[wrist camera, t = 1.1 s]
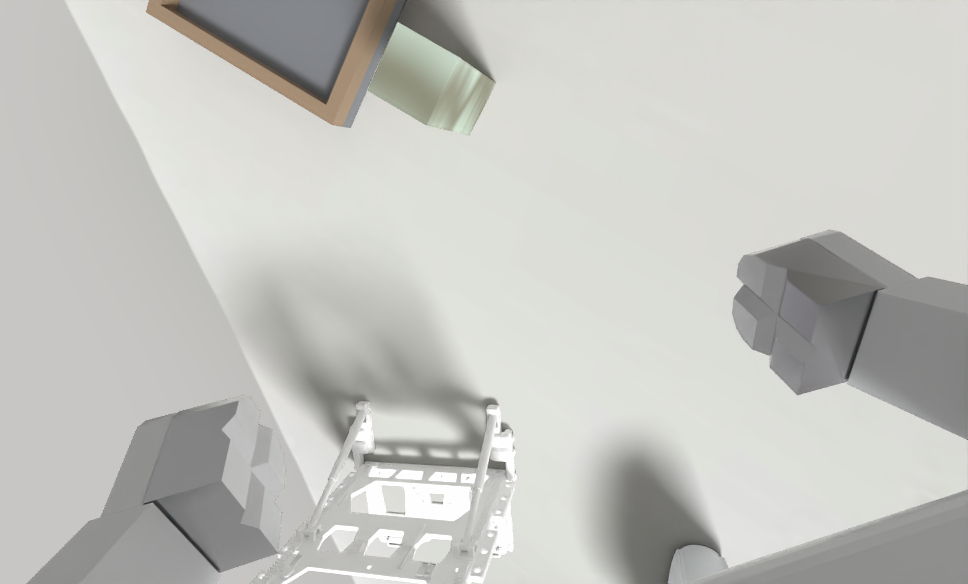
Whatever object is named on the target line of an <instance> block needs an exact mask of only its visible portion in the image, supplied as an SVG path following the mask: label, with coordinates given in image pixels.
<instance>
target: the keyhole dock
mask: <svg viewBox="0 0 968 584" xmlns="http://www.w3.org/2000/svg"><path fill="white" fill-rule="evenodd" d="M405 2H406V0H149V3H148V6H147V10H146V12H147V13H148V14H150V15H152V16H153V17H155V18H157V19H158V20H160V21H161V22H163V23H165V24H166V25H168V26H170V27H171V28H173V29H175V30H176V31H178V32H180V33H181V34H183V35H185V36H186V37H188V38H190V39H191V40H193V41H194V42H196V43H198V44H199V45H201V46H203V47H204V48H206V49H208V50H209V51H211V52H213V53H214V54H216V55H218V56H219V57H221V58H223V59H224V60H226V61H227V62H229V63H231V64H232V65H234V66H236V67H237V68H239V69H241V70H242V71H244V72H246V73H247V74H249V75H251V76H252V77H254V78H256V79H257V80H259V81H260V82H262V83H264V84H265V85H267V86H269V87H270V88H272V89H274V90H275V91H277V92H279V93H280V94H282V95H284V96H285V97H287V98H289V99H290V100H292V101H294V102H295V103H297V104H298V105H300V106H302V107H303V108H305V109H307V110H308V111H310V112H312V113H313V114H315V115H317V116H318V117H320V118H322V119H323V120H325V121H327V122H328V123H330V124H331V125H336V126H342V127H348V128H351V125H352V123H353V121H354V119H355V116H356V114H357V112H358V109H359V107H360V105H361V103H362V100H363V98H364V96H365V93H366V91H367V89H368V86H369V84H370V82H371V80H372V77H373V75H374V73H375V70H376V68H377V66H378V63H379V61H380V59H381V57H382V54H383V52H384V50H385V47H386V45H387V43H388V41H389V38H390V36H391V34H392V31H393V29H394V27H395V24H396V22H397V20H398V18H399V15H400V13H401V11H402V8H403V6H404V4H405Z"/></svg>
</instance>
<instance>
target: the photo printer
mask: <svg viewBox="0 0 968 584" xmlns="http://www.w3.org/2000/svg"><path fill="white" fill-rule="evenodd" d="M725 569H728V565H727V563H726V561H725V559H724V558H723V557H719V555H718V554H717V553H716V552H715V551H714V550H712V549H710V548H708V547H705V546H701V545H688V546H684V547H682V549H677V550H676V552H675V554H674V557H673V560H672V564H671V568H670V574H669V579H668V584H682V583H685V582H688V581H691V580H694V579H697V578H700V577H703V576H706V575H710V574H713V573H716V572H719V571H722V570H725Z"/></svg>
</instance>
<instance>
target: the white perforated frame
mask: <svg viewBox="0 0 968 584" xmlns="http://www.w3.org/2000/svg"><path fill="white" fill-rule="evenodd" d="M355 407H356V414H357V417H356V419H355V421H354V423H353V425H352V426H351V427H350V429H349V434H348V436H347V438H346V441H345V443H344V445H343V447H342V449H341V451H340V454H339V456H338V458H337V460H336V462H335V464H334V467H333V469H332V471H331V473H330V475H329V478H328V483H327V485H326V487H325V489H324V492H323V494H322V496H321V498H320V500H319V502H318V505H317V507H316V509H315V511H314V513H313V515H312V516H311V517H310V518H309V519H308V520H307V521H306V522H305V523H303V524H302V525H301V526H300V527H299V528H298V529H297V530H296V533H295V535H293V537H292V538H291V539H290V540H289V541H288V542H287V543H286V544H285V545H284V547H283V548H282V549H281V550H280V551H279V552H278V553H277V554H278V561H276V562H275V564H273V567H270V570H268V571H263V570H262V571H261V572H260V573H259V574H258V575H257V576H256V578H255V579H254V580H253V581H252V582H251V583H250V584H287V583H289V582H291V581H292V580H293V579H295V578H297V577H299V576H300V575H301V574H303V573H305V572H307V571H308V570H312V571H320V572H329V573H337V574H345V575H353V576H362V577H370V578H379V579H387V580H395V581H404V582H412V583H420V584H470V582H478V583H482V582H483V581H484V578H485V575H486V572H487V569H488V566H489V563H490V560H491V558H492V557H497V558H499V557H500V554H506V551H507V550H509V551H513V548H514V543H513V530H512V518H511V507H510V506H511V505H510V502H511V499H512V496H513V493H514V490H515V483H514V482H509V481H513V480H517V474H515V465H514V455H515V453H516V451H515V449H513V441H514V439H515V437H514V435H512V430H511V429H506V430H505V431H504V432H502V429H501V416H500V406H499V405H488V407H487V409H486V414H487V428H486V432H485V436H484V441H483V445H482V450H481V454H480V459H479V463H478V468H470V467H453V466H436V465H419V464H402V463H385V462H368V461H366V462H365V463H364V457H363V454H371V453H372V452H373V451H374V450H375V443H374V435H373V427H372V420H371V412H370V404H369V402H368V401H360V402H358V403H357V404H356V405H355ZM368 409H369V410H368ZM365 417H366V418H365ZM351 448H352V452H353V457H354V464H355V467H354V469H355V470H356V471H357V472H351V473H350V474H349V475H348V476H347V477H346V478H345V479H344V480H343V481H342V483H341V484H340V485H339V486H338V487H337V488H336V489H335V490H334V491H333V492H332V494H331V495H330V493H331V490H332V488H333V486H334V484H335V483H336V482H337V480H338V478H339V475H340V473H341V471H342V469H343V466H344V464H345V462H346V460H347V457H348V455H349V453H350V451H351ZM489 457H490V459H491V460H494V461H502V462H506V470H504V469H487V466H488V462H489ZM379 471H381V473H379ZM402 473H403V474H402ZM442 475H443V476H442ZM467 477H470V478H467ZM381 485H392V486H403V487H404V490H405V511H406V514H396V513H387V511H386V507H385V503H384V499H383V495H382V490H381ZM365 490H366V494H367V501H368V509H369V514H367V513H355V512H351V498H353V497H355V496H356V495H358V494H360V493H362V492H364V491H365ZM469 491H471V493H472V495H473V497H472V501H471V506H470V501H469V496H468V494H469ZM429 493H438V494H444V500H443V504H442V503H432V502H431V498H430V494H429ZM329 495H330V496H329ZM423 499H424V501H423ZM450 501H451V502H452V503H450ZM324 506H325V508H324ZM493 521H494V522H493ZM495 524H497V525H498V527H495ZM336 529H339V530H350V531H357V534H356V536H355V538H354V541H353V542H352V543H351V544H350V545H349V546H348V547H347V548H346V549H345V550H344V551H343V552H342V553H338V552H329V551H319V548H320V546H321V544H322V542H323V540H324V539H326V538H327V537H328V536H329V535H330V534H331V533H332V532H334V531H335V530H336ZM388 535H389V538H388ZM376 537H379V538H380V541H381V542H387V545H388V546H389V547H399V548H398V549H397V550H396V551H395V553H394V554H393V555H392V556H391V557H390V558H384V557H375V556H366V555H365V553H366V551H367V548H368V545H369V544H370V543H371V542H372V541H373V540H374V539H375V538H376ZM431 538H433V539H444V540H452V541H451V547H450V551H449V553H448V554H447V555H446V557H445V558H444V559H443V560H442V562H441V563H431V562H421V561H413V560H414V556H415V552H416V550H417V548H418V547H419V546H420V545H421V544H422V543H424V542H426V541H428V542H429V541H430V540H431ZM389 543H398V544H401V546H400V545H390V544H389ZM497 546H499V548H497ZM493 553H498V555H493ZM369 568H370V570H369ZM456 571H458V572H456Z"/></svg>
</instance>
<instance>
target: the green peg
mask: <svg viewBox="0 0 968 584" xmlns="http://www.w3.org/2000/svg"><path fill="white" fill-rule="evenodd" d="M495 84H496V83H495V82H494V81H492V80H491V79H489V78H488V77H487V76H485V75H484V74H482V73H481V72H479V71H478V70H477V69H475V68H474V67H472V66H471V65H469V64H468V63H467V62H465V61H464V60H462V59H461V58H459V57H458V56H456V55H454V54H453V53H451V52H449V51H447V50H446V49H444V48H442V47H440V46H439V45H437V44H435V43H433V42H432V41H430V40H428V39H426V38H425V37H423V36H421V35H420V34H418V33H416V32H414V31H413V30H411V29H409V28H407V27H406V26H404V25H402V24H400V23H399V22H397V24H396V27H395V29H394V31H393V33H392V36H391V38H390V40H389V43H388V45H387V47H386V49H385V52H384V54H383V56H382V59H381V61H380V63H379V66H378V68H377V70H376V72H375V75H374V77H373V79H372V82H371V84H370V86H369V89H368V91H369V92H371V93H373V94H374V95H376V96H378V97H379V98H381V99H383V100H385V101H386V102H388V103H390V104H391V105H393V106H395V107H396V108H398V109H400V110H401V111H403V112H405V113H406V114H408V115H410V116H411V117H413V118H415V119H417V120H418V121H420V122H422V123H423V124H425V125H428V126H432V127H436V128H440V129H444V130H449V131H453V132H457V133H461V134H466V135H470V133H471V131H472V129H473V127H474V125H475V123H476V121H477V119H478V117H479V116H480V114H481V112H482V110H483V108H484V106H485V104H486V102H487V100H488V98H489V96H490V94H491V92H492V90H493V88H494V86H495Z"/></svg>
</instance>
